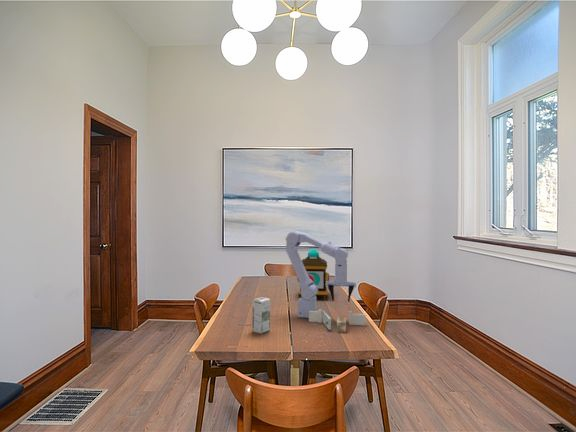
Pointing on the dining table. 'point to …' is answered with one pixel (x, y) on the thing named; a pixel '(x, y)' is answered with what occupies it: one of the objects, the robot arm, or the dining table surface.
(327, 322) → the door
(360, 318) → the wall frame
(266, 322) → the syrup box
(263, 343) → the dining table surface
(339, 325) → the birch block
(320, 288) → the decorative lantern
